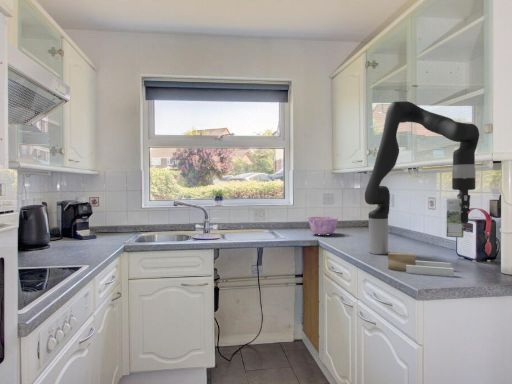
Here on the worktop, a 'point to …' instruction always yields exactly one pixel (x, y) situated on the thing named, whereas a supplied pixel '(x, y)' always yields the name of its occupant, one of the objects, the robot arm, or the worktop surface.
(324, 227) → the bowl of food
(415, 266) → the channel
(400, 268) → the block
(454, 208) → the syrup box
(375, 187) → the robot arm
